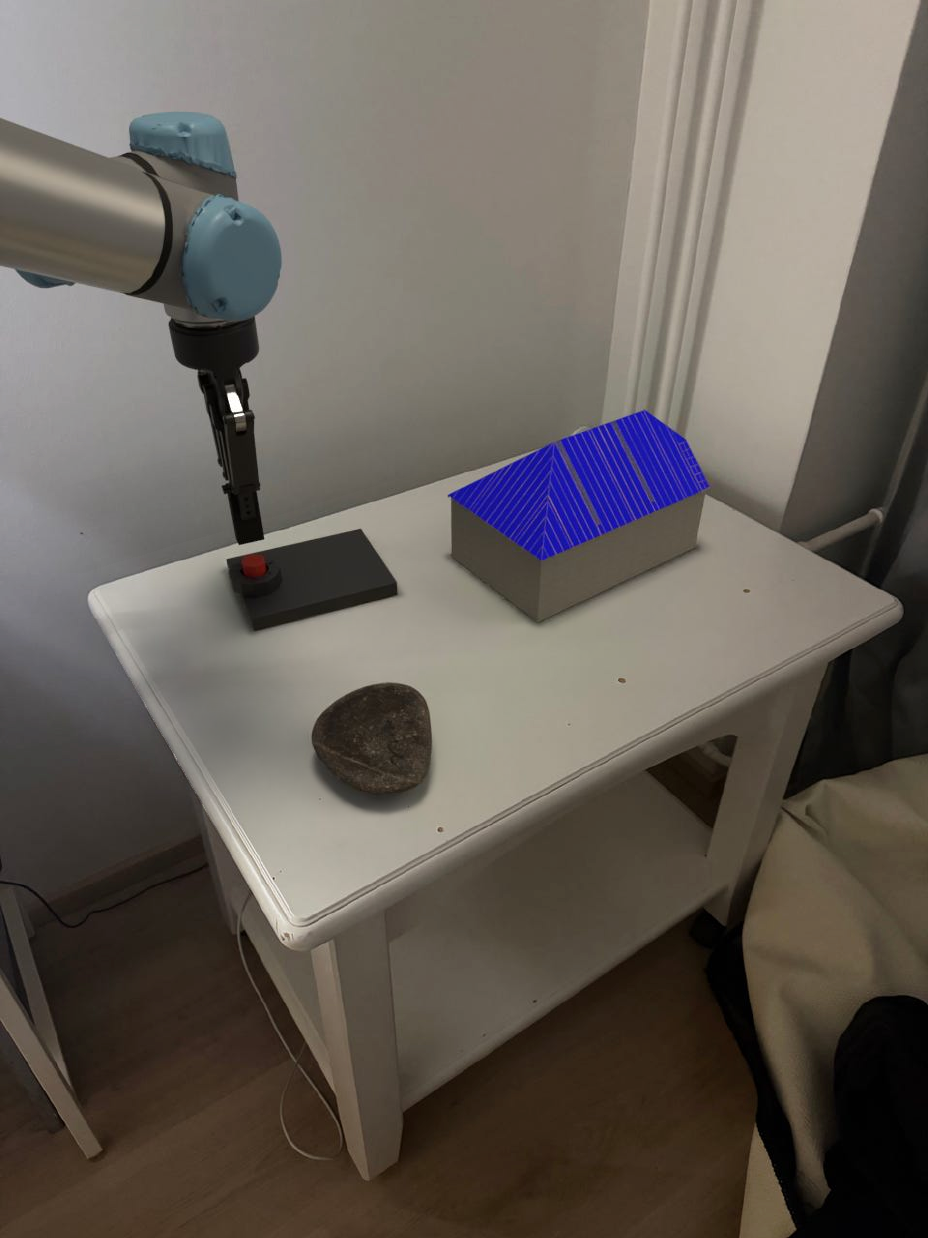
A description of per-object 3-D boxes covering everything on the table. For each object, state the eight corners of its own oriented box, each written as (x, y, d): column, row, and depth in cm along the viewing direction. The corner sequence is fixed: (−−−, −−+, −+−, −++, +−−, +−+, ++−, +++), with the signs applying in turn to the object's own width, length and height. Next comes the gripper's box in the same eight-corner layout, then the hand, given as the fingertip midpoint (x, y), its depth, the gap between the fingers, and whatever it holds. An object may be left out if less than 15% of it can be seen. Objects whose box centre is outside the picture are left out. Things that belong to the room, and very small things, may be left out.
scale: (247, 633, 92) (242, 606, 90) (222, 572, 101) (217, 546, 99) (397, 594, 98) (396, 568, 96) (361, 540, 106) (359, 515, 104)
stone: (471, 766, 78) (471, 725, 75) (372, 831, 72) (368, 789, 69) (392, 699, 85) (389, 659, 82) (296, 753, 79) (289, 713, 76)
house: (604, 492, 116) (617, 377, 106) (698, 547, 105) (722, 425, 96) (447, 555, 104) (446, 432, 94) (536, 624, 94) (545, 494, 84)
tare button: (246, 580, 94) (244, 568, 93) (241, 569, 96) (239, 557, 95) (268, 575, 95) (266, 563, 94) (263, 563, 97) (261, 552, 96)
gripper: (271, 332, 75) (302, 562, 90) (236, 286, 84) (269, 502, 99) (181, 345, 73) (228, 580, 87) (155, 297, 82) (201, 516, 97)
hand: (250, 538), depth 93 cm, fingers closed
